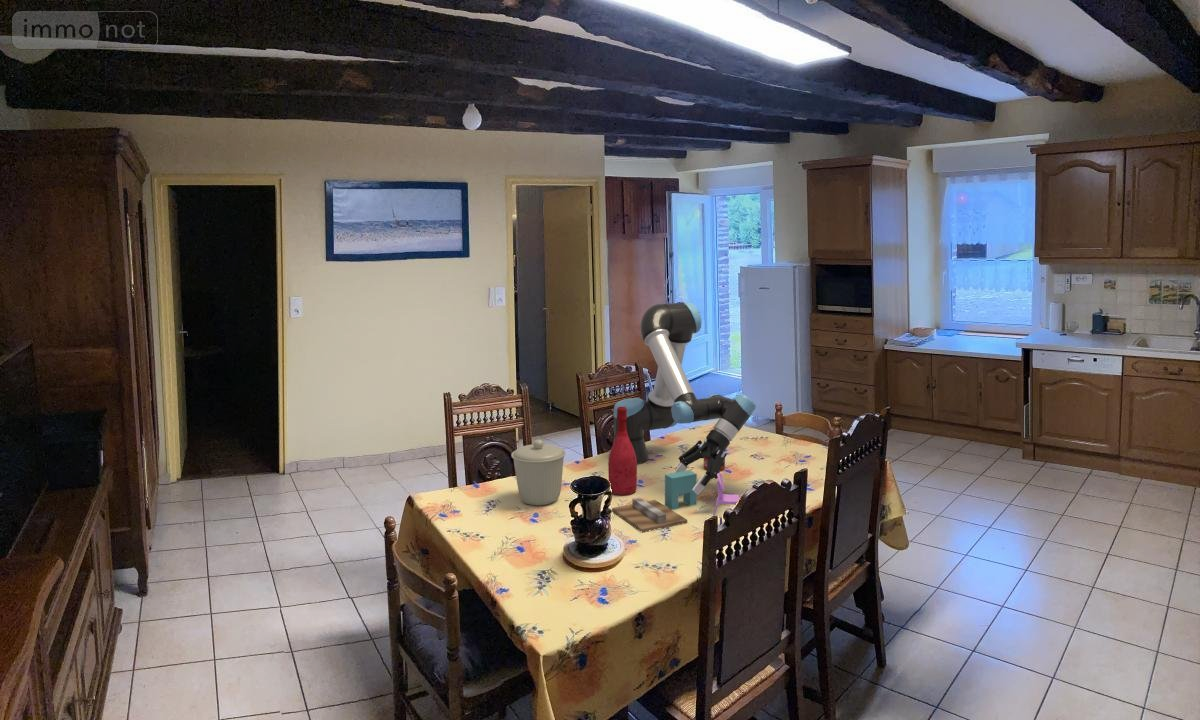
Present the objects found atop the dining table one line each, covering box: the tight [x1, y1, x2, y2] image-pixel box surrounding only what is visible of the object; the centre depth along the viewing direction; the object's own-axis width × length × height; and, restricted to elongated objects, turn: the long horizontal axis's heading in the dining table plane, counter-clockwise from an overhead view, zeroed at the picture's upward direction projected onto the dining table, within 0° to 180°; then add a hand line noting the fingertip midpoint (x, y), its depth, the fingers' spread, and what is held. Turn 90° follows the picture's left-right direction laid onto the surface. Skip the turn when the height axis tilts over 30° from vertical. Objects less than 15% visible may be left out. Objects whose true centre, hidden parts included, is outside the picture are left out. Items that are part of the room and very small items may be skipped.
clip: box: [664, 469, 698, 510], centre depth 257 cm, size 9×4×10 cm, turn 116°
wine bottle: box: [607, 407, 638, 496], centre depth 269 cm, size 10×10×30 cm
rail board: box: [611, 496, 688, 533], centre depth 248 cm, size 20×16×4 cm
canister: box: [510, 439, 567, 506], centre depth 262 cm, size 18×18×21 cm
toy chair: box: [712, 472, 740, 517], centre depth 243 cm, size 8×9×15 cm
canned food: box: [703, 438, 726, 472], centre depth 294 cm, size 8×8×11 cm
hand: (683, 486), depth 256 cm, fingers open, 13 cm apart
